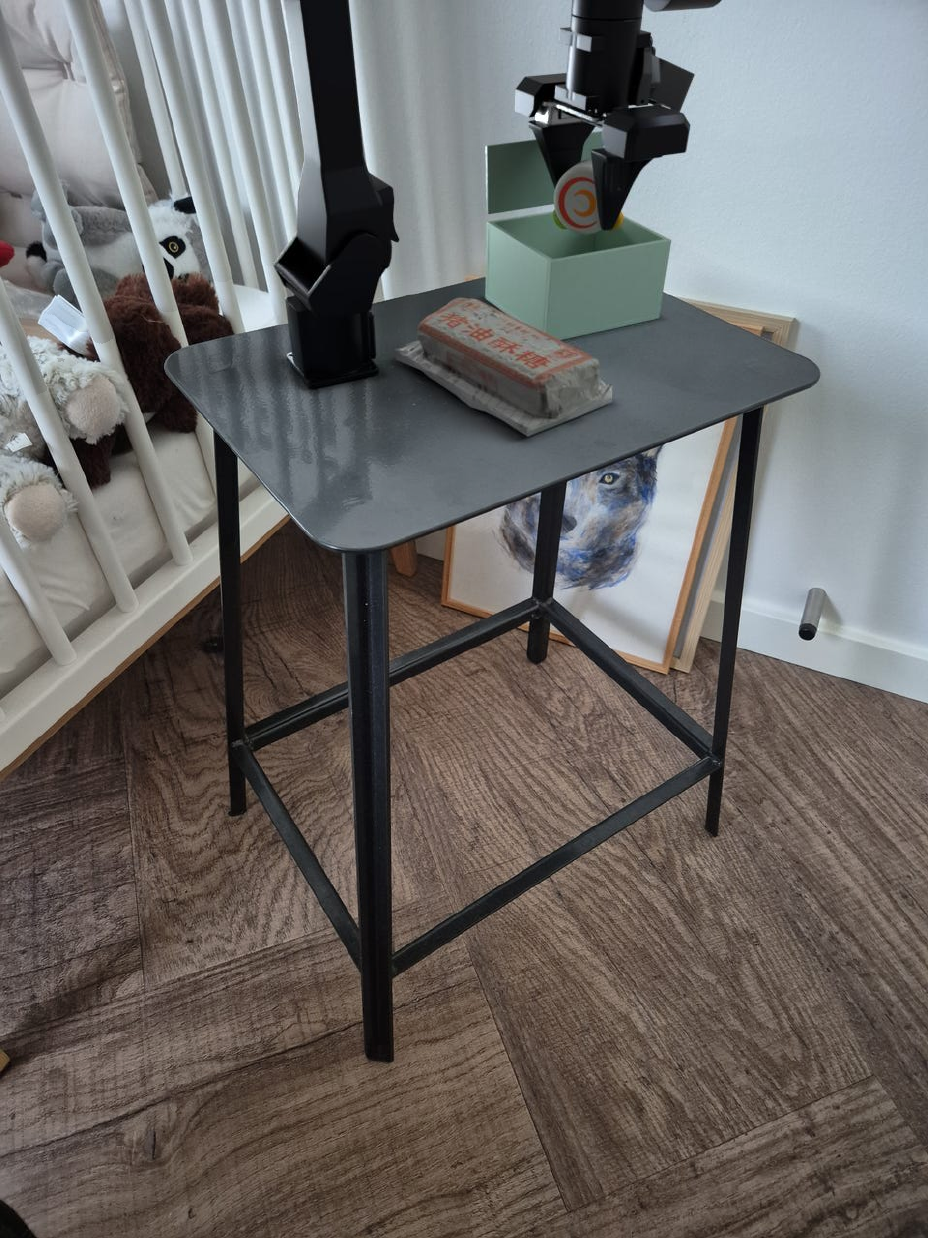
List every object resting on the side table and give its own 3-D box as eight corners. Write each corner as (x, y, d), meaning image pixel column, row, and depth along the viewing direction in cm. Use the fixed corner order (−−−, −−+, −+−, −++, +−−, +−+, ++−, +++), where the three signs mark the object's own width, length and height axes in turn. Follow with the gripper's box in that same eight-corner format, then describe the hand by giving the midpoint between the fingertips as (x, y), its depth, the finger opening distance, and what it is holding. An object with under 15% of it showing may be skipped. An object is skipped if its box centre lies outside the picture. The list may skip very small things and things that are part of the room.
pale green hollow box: (545, 343, 82) (551, 261, 77) (485, 298, 90) (486, 221, 85) (659, 318, 87) (671, 239, 82) (592, 277, 95) (599, 203, 90)
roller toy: (563, 217, 85) (568, 151, 81) (627, 226, 83) (635, 159, 79) (547, 231, 82) (551, 162, 78) (613, 241, 80) (621, 171, 76)
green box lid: (487, 145, 81) (485, 145, 81) (488, 214, 85) (486, 213, 85) (604, 131, 86) (602, 130, 86) (601, 196, 89) (598, 195, 89)
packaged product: (623, 349, 70) (530, 385, 66) (616, 404, 73) (527, 442, 69) (479, 281, 81) (390, 308, 76) (478, 332, 84) (393, 361, 79)
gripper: (762, 26, 68) (720, 237, 78) (622, -5, 80) (603, 181, 91) (643, 35, 64) (616, 255, 74) (516, 2, 76) (508, 194, 87)
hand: (586, 218), depth 82 cm, fingers closed on roller toy, 6 cm apart
